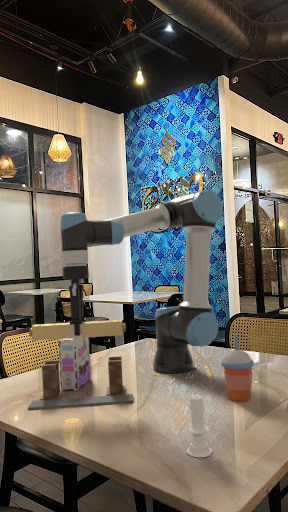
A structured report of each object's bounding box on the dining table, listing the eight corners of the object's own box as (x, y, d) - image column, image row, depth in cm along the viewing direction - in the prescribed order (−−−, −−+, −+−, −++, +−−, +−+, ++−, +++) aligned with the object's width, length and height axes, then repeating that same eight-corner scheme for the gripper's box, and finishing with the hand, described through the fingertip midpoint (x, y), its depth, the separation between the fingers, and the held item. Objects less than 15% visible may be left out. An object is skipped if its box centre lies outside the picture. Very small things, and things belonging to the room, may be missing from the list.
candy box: (77, 391, 133) (74, 339, 133) (60, 391, 134) (57, 340, 134) (91, 379, 146) (89, 332, 147) (75, 378, 148) (73, 332, 148)
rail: (126, 333, 124) (125, 319, 124) (126, 335, 121) (125, 321, 121) (31, 338, 123) (31, 324, 123) (28, 340, 119) (28, 326, 119)
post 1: (63, 392, 133) (62, 359, 133) (59, 400, 125) (58, 365, 125) (44, 393, 132) (43, 360, 132) (39, 401, 124) (38, 366, 125)
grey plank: (132, 395, 125) (132, 393, 125) (133, 402, 119) (133, 400, 119) (32, 402, 124) (32, 400, 124) (28, 409, 118) (27, 407, 118)
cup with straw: (237, 405, 112) (233, 339, 113) (216, 396, 120) (213, 335, 121) (262, 399, 117) (259, 335, 117) (241, 391, 125) (237, 331, 125)
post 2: (126, 388, 134) (124, 355, 134) (126, 395, 126) (124, 361, 126) (107, 389, 133) (105, 356, 134) (106, 397, 125) (104, 362, 126)
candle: (183, 456, 85) (180, 397, 85) (190, 445, 90) (187, 389, 90) (209, 459, 83) (206, 399, 83) (214, 447, 88) (211, 391, 88)
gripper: (66, 266, 130) (69, 340, 130) (58, 266, 114) (62, 351, 113) (90, 264, 131) (93, 339, 130) (85, 264, 114) (89, 350, 114)
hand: (79, 344), depth 122 cm, fingers closed on rail, 3 cm apart
